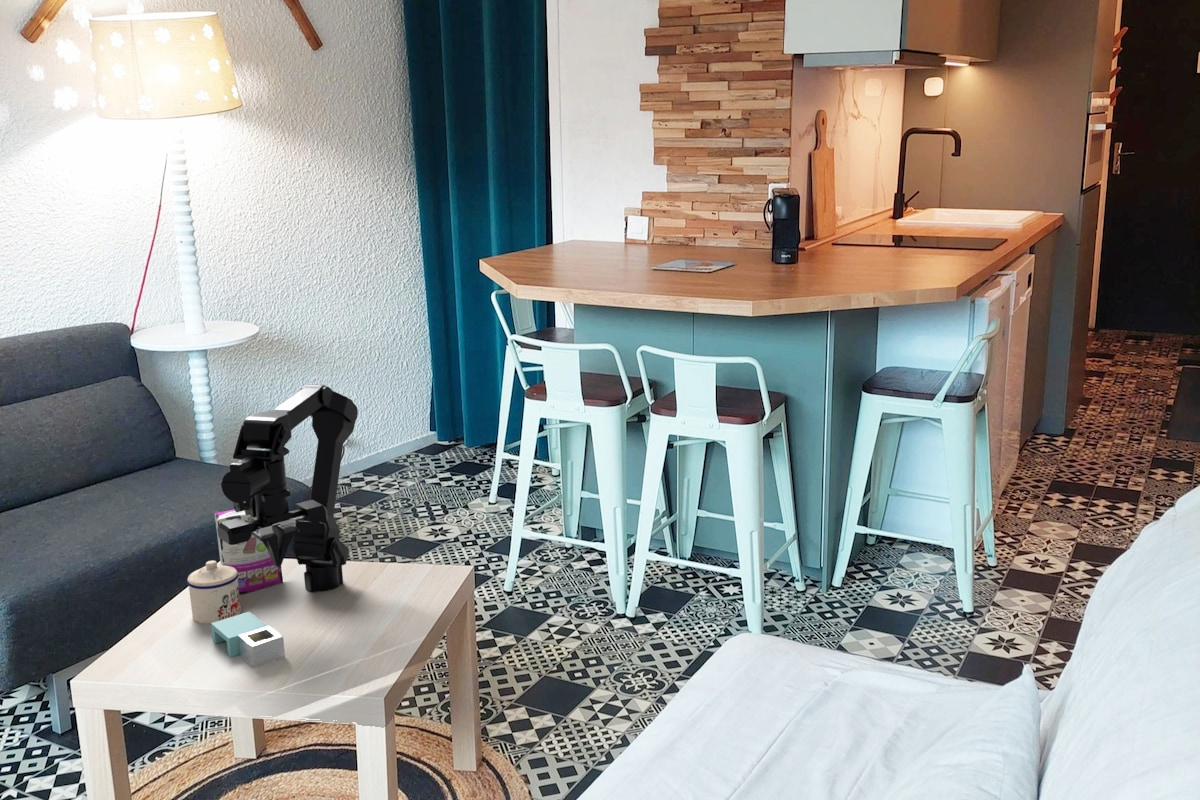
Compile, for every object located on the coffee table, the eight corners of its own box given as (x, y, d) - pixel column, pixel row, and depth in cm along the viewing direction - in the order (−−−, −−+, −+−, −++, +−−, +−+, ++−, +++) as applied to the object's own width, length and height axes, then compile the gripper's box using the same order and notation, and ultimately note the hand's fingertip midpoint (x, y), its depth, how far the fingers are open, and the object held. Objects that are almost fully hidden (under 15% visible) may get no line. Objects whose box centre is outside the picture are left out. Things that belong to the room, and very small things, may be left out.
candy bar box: (278, 577, 225) (271, 501, 221) (283, 586, 221) (276, 509, 217) (222, 588, 220) (213, 511, 216) (226, 597, 216) (217, 519, 212)
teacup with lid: (226, 632, 201) (219, 573, 198) (182, 628, 203) (174, 570, 200) (259, 604, 212) (253, 548, 210) (217, 601, 214) (210, 545, 212)
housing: (250, 629, 199) (249, 611, 198) (269, 644, 193) (267, 626, 192) (213, 641, 195) (210, 623, 194) (230, 657, 189) (228, 638, 188)
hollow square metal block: (271, 646, 193) (269, 625, 192) (285, 657, 188) (283, 636, 187) (240, 656, 189) (238, 635, 188) (253, 668, 185) (251, 646, 184)
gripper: (298, 463, 208) (305, 540, 212) (201, 485, 197) (210, 566, 200) (325, 477, 200) (332, 557, 204) (225, 500, 188) (235, 585, 192)
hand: (277, 565), depth 200 cm, fingers closed
